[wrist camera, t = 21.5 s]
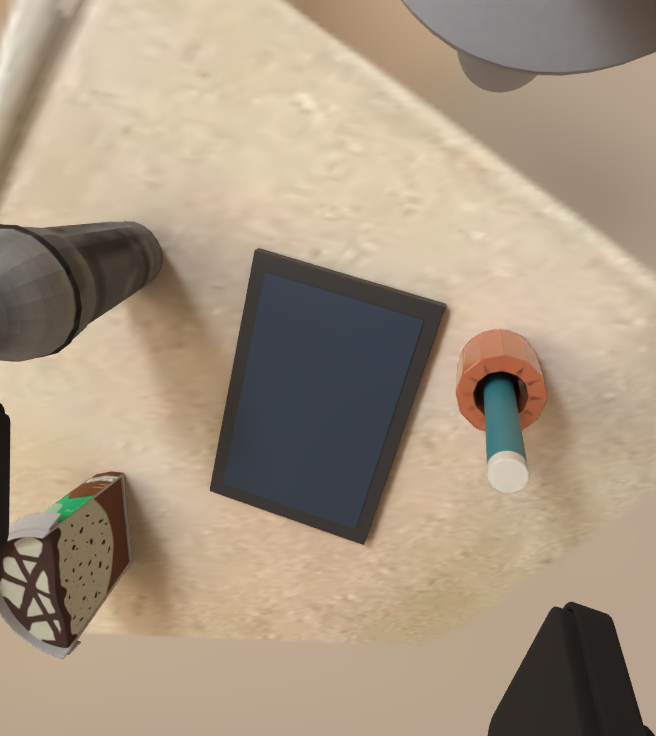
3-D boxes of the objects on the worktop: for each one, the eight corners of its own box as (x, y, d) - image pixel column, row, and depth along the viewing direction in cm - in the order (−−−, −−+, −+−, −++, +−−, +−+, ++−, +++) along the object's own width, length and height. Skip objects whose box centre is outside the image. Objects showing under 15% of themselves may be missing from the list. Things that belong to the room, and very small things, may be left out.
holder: (473, 319, 38) (473, 345, 33) (549, 342, 37) (560, 371, 33) (448, 387, 40) (445, 419, 35) (520, 409, 39) (526, 445, 35)
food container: (56, 445, 50) (-36, 515, 41) (121, 457, 49) (41, 531, 40) (73, 561, 54) (-7, 646, 45) (133, 574, 53) (64, 664, 44)
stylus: (487, 354, 38) (495, 453, 26) (515, 363, 38) (535, 466, 26) (478, 379, 39) (481, 486, 27) (505, 387, 39) (520, 499, 27)
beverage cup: (68, 227, 42) (-237, 298, 24) (146, 182, 39) (-130, 223, 21) (120, 317, 44) (-127, 447, 26) (198, 280, 41) (-16, 394, 23)
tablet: (258, 248, 39) (254, 250, 39) (445, 303, 38) (445, 307, 37) (213, 485, 48) (209, 491, 47) (365, 538, 46) (363, 545, 45)
